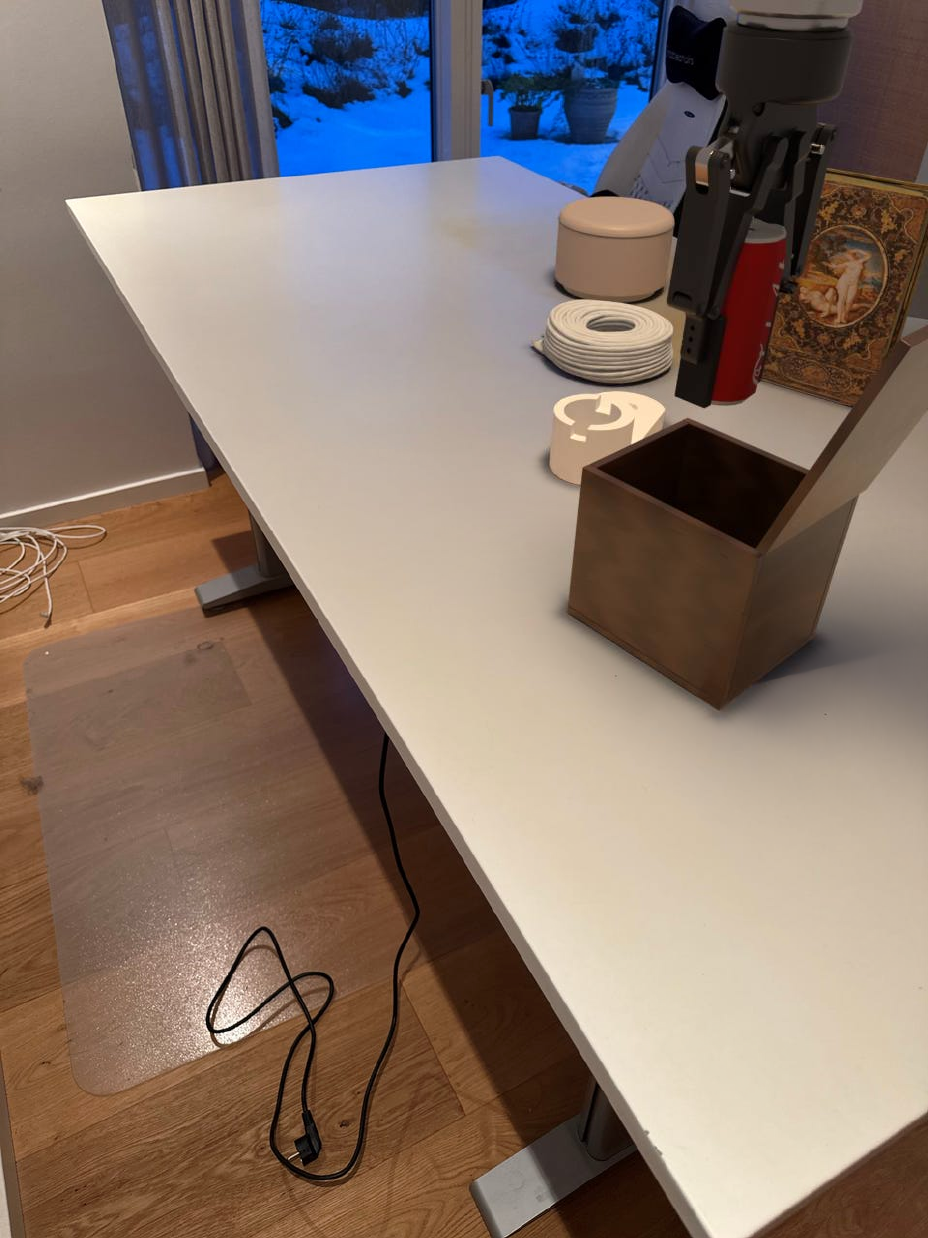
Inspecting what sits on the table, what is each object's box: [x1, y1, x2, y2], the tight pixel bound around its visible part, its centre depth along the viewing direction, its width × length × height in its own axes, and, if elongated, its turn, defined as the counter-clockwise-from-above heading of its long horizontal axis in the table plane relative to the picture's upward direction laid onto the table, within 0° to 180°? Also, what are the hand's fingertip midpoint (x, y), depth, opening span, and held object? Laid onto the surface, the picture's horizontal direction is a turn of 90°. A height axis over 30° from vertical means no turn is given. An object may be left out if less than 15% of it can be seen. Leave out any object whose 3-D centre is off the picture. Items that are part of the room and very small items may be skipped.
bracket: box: [549, 390, 666, 486], centre depth 105 cm, size 20×9×7 cm, turn 152°
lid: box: [756, 324, 928, 556], centre depth 61 cm, size 17×14×1 cm
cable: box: [530, 299, 674, 384], centre depth 125 cm, size 18×18×6 cm
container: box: [554, 196, 676, 303], centre depth 146 cm, size 18×18×12 cm
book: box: [761, 167, 928, 407], centre depth 113 cm, size 16×6×25 cm, turn 51°
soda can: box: [711, 218, 786, 407], centre depth 65 cm, size 6×6×12 cm
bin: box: [567, 417, 860, 711], centre depth 77 cm, size 17×14×15 cm
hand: (718, 388), depth 69 cm, fingers closed on soda can, 5 cm apart
